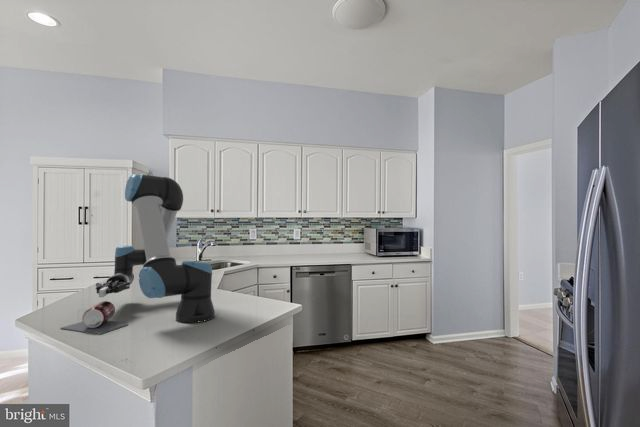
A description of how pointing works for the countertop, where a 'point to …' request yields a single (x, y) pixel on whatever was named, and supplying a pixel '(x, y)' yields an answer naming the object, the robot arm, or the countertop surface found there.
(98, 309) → the soda can
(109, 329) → the mat
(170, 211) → the robot arm
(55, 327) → the countertop surface
